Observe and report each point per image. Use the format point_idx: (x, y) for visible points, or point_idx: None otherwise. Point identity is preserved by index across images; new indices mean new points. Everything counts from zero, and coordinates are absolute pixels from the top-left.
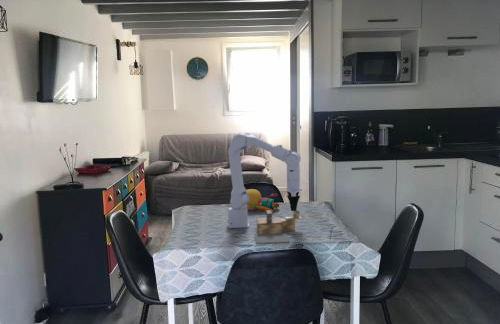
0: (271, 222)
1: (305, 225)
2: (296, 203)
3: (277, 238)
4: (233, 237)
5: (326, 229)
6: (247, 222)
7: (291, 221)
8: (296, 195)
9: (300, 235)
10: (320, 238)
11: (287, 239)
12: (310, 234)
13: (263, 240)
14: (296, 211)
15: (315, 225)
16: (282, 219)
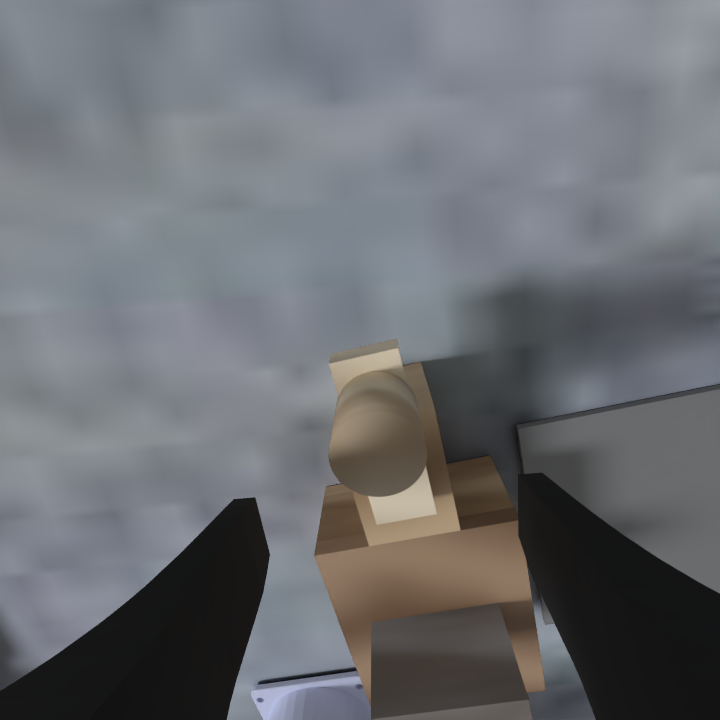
0: (512, 604)
1: (219, 280)
2: (664, 578)
3: (670, 478)
4: (585, 709)
5: (332, 12)
6: (324, 707)
7: (439, 438)
8: (141, 704)
9: (565, 301)
10: (691, 73)
11: (714, 401)
12: (535, 202)
13: (707, 560)
14: (425, 451)
15: (194, 169)
16: (396, 529)
